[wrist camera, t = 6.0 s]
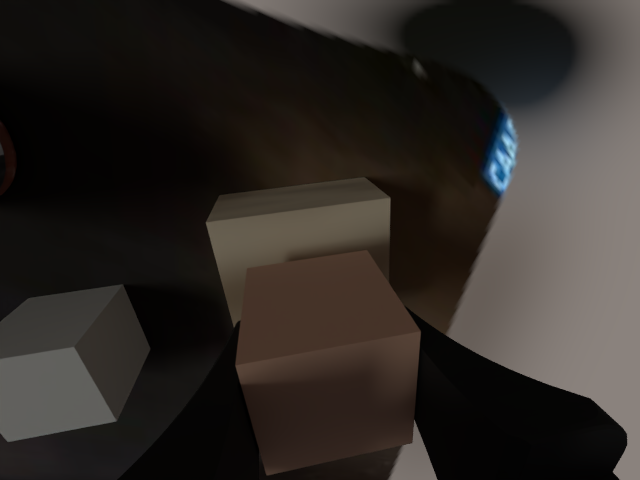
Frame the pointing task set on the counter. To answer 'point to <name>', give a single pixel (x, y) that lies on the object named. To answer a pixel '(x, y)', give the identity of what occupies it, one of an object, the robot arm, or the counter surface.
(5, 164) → the supplement bottle
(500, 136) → the counter surface
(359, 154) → the counter surface
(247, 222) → the birch base block
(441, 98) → the counter surface
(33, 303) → the grey cube
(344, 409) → the terracotta cube
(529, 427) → the robot arm
